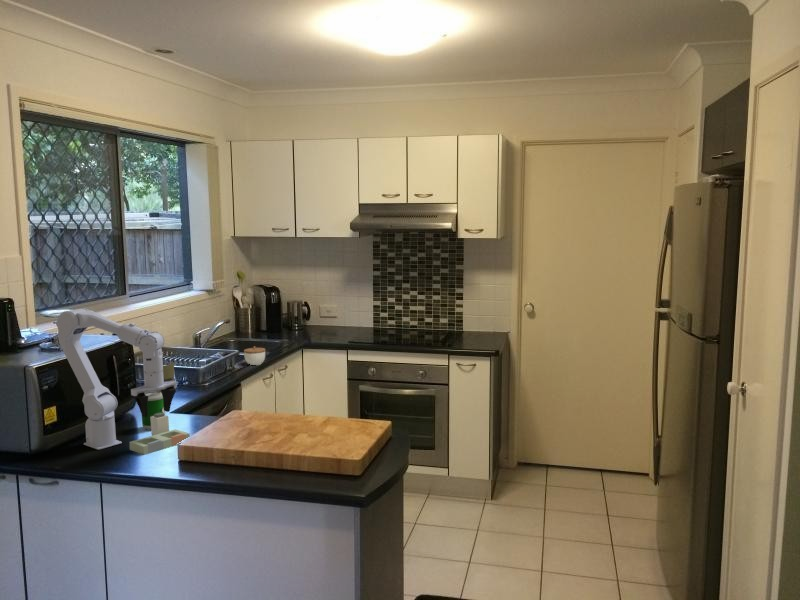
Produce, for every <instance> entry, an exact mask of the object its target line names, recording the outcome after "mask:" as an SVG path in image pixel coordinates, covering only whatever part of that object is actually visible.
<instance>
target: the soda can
mask: <svg viewBox="0 0 800 600" xmlns="http://www.w3.org/2000/svg"><path fill="white" fill-rule="evenodd" d="M144 394H145V395H146V396H148V402H147V411H148V416H147V417H143V416H142V415H141V421H142V422H141V425H142V427H143V428H144V429H145V430H146V429H147V431H151V419H150V417H152V416H154V414H157V413H164V414H165V415H166V411H164V404H163V396H162V393H161V392H156V391H155V392H149V393H144Z"/></svg>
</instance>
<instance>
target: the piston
mask: <svg viewBox="0 0 800 600" xmlns="http://www.w3.org/2000/svg"><path fill="white" fill-rule="evenodd" d="M175 376H176V375H175V363H174V362H173V361H172V362H171V363H169V364H166V365H164V364H163V378H164V382H168V381H176V378H174V377H175ZM154 392H155V391H154ZM156 392H161V390H158V391H156ZM161 393H162V392H161Z"/></svg>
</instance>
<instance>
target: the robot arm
mask: <svg viewBox="0 0 800 600" xmlns="http://www.w3.org/2000/svg"><path fill="white" fill-rule="evenodd" d="M55 326H56V327H57V331H58V333H57V336H58V343H59V346H60V348H61V349H62V351H63V355H65V357H66V359H67V361H68V363H69V365H70V367H71V369H72V372H73V374H74V375H75V377H76V379H77V382H78V383H79V385H80V388H81V389H82V391H83V396H82V400H81V401H82V403H83V406H84V414H85V416H87V419H86V421H85V425H84V428H85V439H86V442H84V443H83V445H84V446H86V447H90V448H92V449H95V450H103V449H106V448H109V447H112V446H116V445H120V444H122V443H123V442H122V441H121V440H118V439H117V436H116V435H117V434H116V433H117V432H116V422H115V421H116V419H115V410H116V409H117V407H118V403H119V402H118V399H117V397H116V396H115V395H114V394H113V393H112V392H111V391H110V389H109V388H108V387H106V386H104V385H103V384H102V383H101V381H100V379H99V377H98V374H97V373H96V371H95V370H94V367H93V365H92V363H91V361H90V359H89V356H88V354H87V352H86V351H85V349H84V347H83V346H82V342H81V338H82V337H83V336H82V335H83V333H84V332H85V331H86V330H87V329H88V328H91V327H94V328H97V329H99V330H103V331H106V332H108V333H112V334H115V335H117V338H118V340H120V341H121V342H124V343H126V344H129V345H131V346H134V347H136V348H138V349H139V350H140V351H141V353H142V366H143V367H142V369H143V381H144V385H141V386H138V387H134V388H131V389H130V395H131V396H132V398H133V399H134V400H135V402H136V404H137V406H138V408H139V410H140V413H141V417H142V416H143V417H147V416H148V411H147V402H148V396H146V395H145V394H144V393H149V392H154V391H158V390H161V392H162V396H163V404H164V411H165V412H167V413H168V412H170V411H171V406H172V401H173V400H174V399H173V398H174V397H175V394H176V393H177V389H176V388H177V387H178V382H177V380H175V381H168V382H164V378H163V365H164V363H163V350H162V348H163V347H164V344H165V338H164V336H163V335H162V333H159V332H158V331H151V332H150V329H147V328H146V329H144V328H141V327H138V326H136V323H134V322H130V323H129V322H128V323H127V322H126V323H124V324H121V323H119V322H116V321H114V320H112V319H110V318H108V317H106V316H104V315H102V314H99V313H97V312H96V311H95V310H90V309H88V308H85V307H79V308H77V309H72V310H66V311H65V310H64V311H62V312H61V313H60V314H59V315H58V318H57V320H56V322H55Z"/></svg>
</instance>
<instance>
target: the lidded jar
mask: <svg viewBox="0 0 800 600" xmlns="http://www.w3.org/2000/svg"><path fill="white" fill-rule="evenodd" d="M243 355H244V360H245V362H246V363H247V364H248V365H249V364H250V365H249V366H251V365H256V366H261V365H262V364H263V363H264V361H265V359H266V348H264V347H257V346H255V345H254V346H253V347H250V348H245V349H243Z"/></svg>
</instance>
